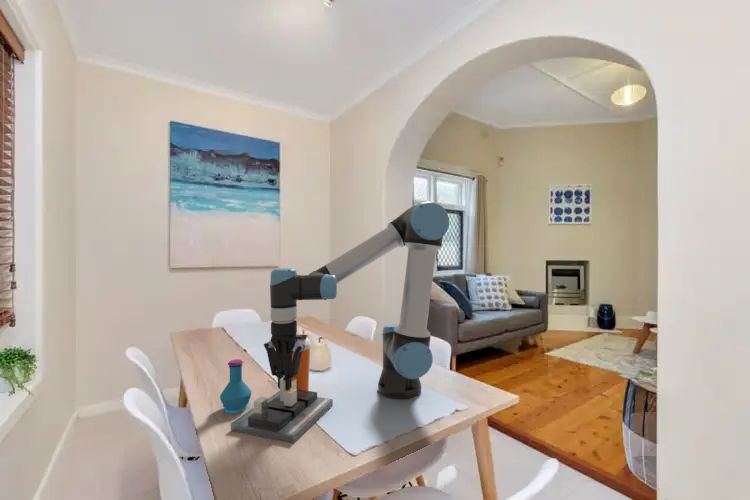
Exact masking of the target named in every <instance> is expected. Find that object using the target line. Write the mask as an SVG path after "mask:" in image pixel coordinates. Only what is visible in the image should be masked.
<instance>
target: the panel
mask: <svg viewBox="0 0 750 500" xmlns="http://www.w3.org/2000/svg"><path fill="white" fill-rule="evenodd" d="M291 383H292V384H291V385H292V387H291V388H294V389H296V379H292V378H291ZM333 400H334V399H332V398H325V397H321V396H318V391H313V390H312V391H310V390H308V391H305V390H298V389H297V403H295V404H294V405H293V406H285V405H284V402H283V401H280V390H279V391H277V392H276V393H274V394H273V395H271V396H270V397H263V396H259V397H258V398H257V399H255V400H253V408H251V410H249V411H247V412H246V413H245V414H243V415H241V416H240V417H239V418H237V419H235V420H234V421H232V422H231V423H230V431H231V432H236V433H239V434H241V433H242V434H246V435H250V436H256V437H260V438H263V439H264V438H265V439H270V440H275V441H280V442H283V443H290V444H295V443H296V442H297V441H299V439H300V438H301V437H302V436H303V435H304V434H305V433H306V432H308V430H309V429H310V428H311V427H313V426H314V425H315V424H316V422H318V421H319V419H320V418H322V417H323V414H324V413H325V412H326V411H327V410H328V411H329V410H330V409H331V408H332V407H333V405H334V403H333ZM329 408H330V409H329ZM328 411H327V412H328ZM327 412H326V413H327ZM326 413H325V414H326ZM325 414H324V415H325Z"/></svg>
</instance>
